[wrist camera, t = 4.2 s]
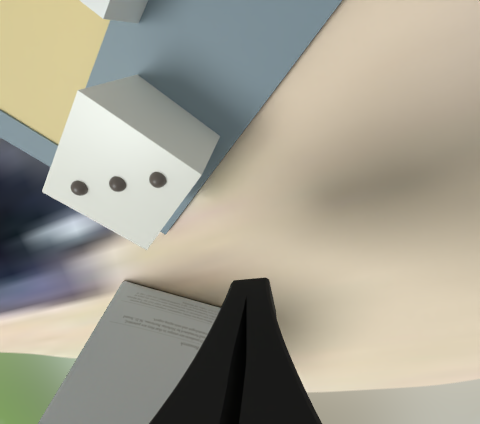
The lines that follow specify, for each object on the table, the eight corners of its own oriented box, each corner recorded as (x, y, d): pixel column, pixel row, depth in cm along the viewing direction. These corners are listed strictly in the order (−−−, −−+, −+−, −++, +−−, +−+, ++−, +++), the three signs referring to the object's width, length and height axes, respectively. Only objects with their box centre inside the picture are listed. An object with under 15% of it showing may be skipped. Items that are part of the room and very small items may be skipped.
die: (220, 136, 13) (199, 178, 9) (176, 198, 15) (143, 254, 11) (137, 74, 12) (71, 91, 8) (102, 151, 14) (36, 195, 10)
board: (376, -48, 10) (380, -51, 9) (167, 230, 17) (165, 234, 17) (-6, -505, 6) (-22, -536, 6) (-56, 98, 14) (-64, 100, 13)
